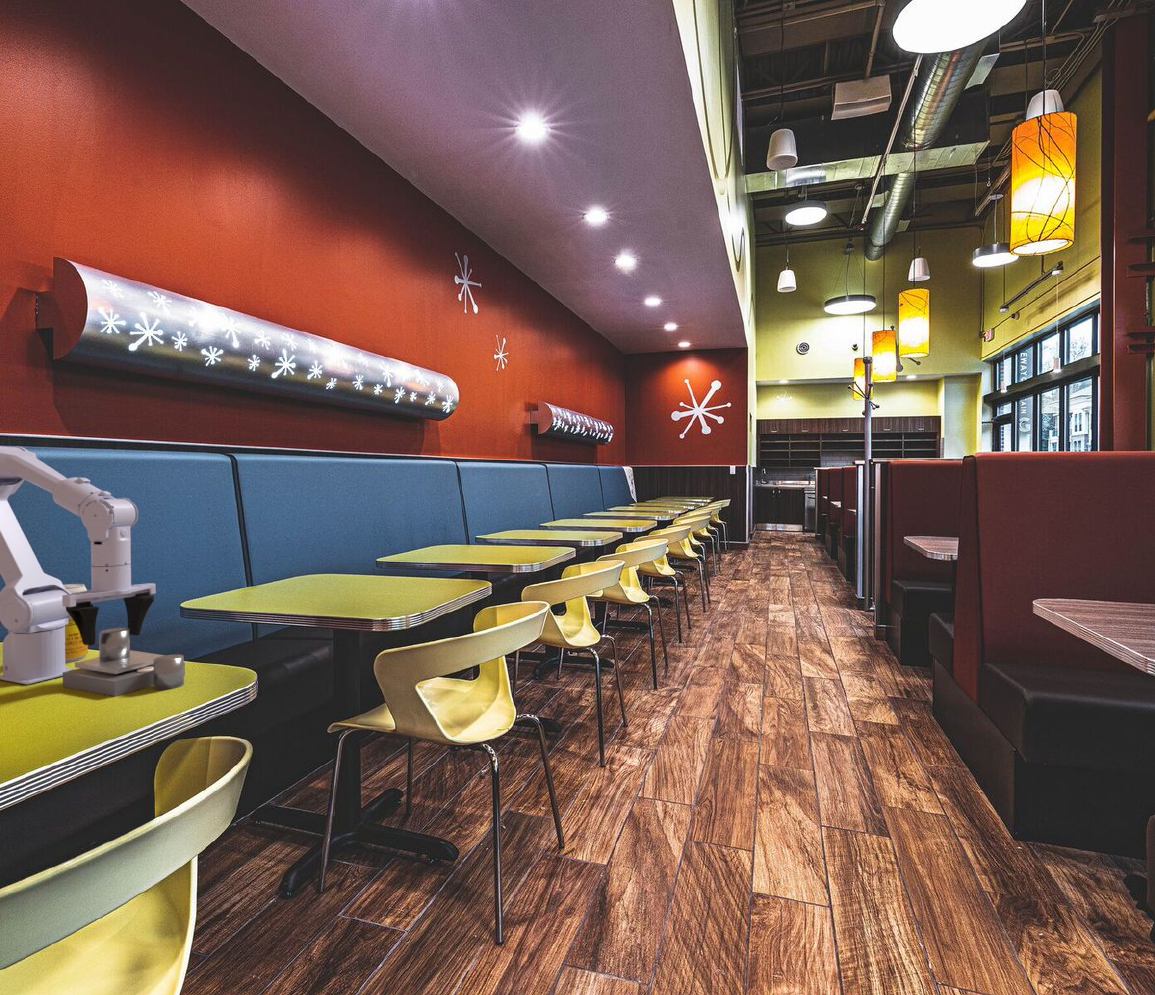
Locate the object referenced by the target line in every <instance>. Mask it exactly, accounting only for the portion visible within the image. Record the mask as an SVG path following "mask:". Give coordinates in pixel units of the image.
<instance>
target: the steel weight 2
mask: <svg viewBox="0 0 1155 995" xmlns="http://www.w3.org/2000/svg"><path fill="white" fill-rule="evenodd" d="M184 659H185V658H184V655H183V654H167V655H165V656H161V657H157V658H155V659H154V660H153V664H154V685H153V690H155V691H168V690H173V689H177V688H178V689H179V688H180V687H183V686H184V685H185V676H184V661H185V660H184Z"/></svg>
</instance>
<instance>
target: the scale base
mask: <svg viewBox="0 0 1155 995" xmlns="http://www.w3.org/2000/svg"><path fill="white" fill-rule="evenodd" d="M185 664H186V663H185V662H184V677H185V675H186V673H185V668H186V666H185ZM74 669H75V668H74ZM152 686H154V664H152V665H148V666H144V667H140V668H137V669H133V670H129V671H125V672H122V673H118V674H112V673H106V672H100V671H94V670H88V669H82V668H76V669H75V670H71V671H67V672H63V676H62V687H63V688H68V689H74V690H78V691H84V692H89V693H95V694H99V693H100V695H104V694H106V695H105V696H110V695H111V697H118V696H122V695H125V694H128V693H131V692H135V691H139V690H141V689H145V688H148V687H152Z"/></svg>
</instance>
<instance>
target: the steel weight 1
mask: <svg viewBox="0 0 1155 995" xmlns="http://www.w3.org/2000/svg"><path fill="white" fill-rule="evenodd" d="M98 636H99V637H98V646H99V647H98V650H99V651H98V652H99V653H98V654H99V656H98V657H99V660H100V661H103V662H107V661H117V660H122V659H126V658H128V657H130V650H131V647H130V646H131V642H130V640H131V639H130V637H131V635H130V629H129V628H128V627H114V628H108V629H104V630H100V631H99V632H98Z"/></svg>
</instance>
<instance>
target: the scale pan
mask: <svg viewBox="0 0 1155 995" xmlns="http://www.w3.org/2000/svg"><path fill="white" fill-rule="evenodd" d="M161 656H165V655H164V654H157V653H151V652H145V651H144V652H143V651H137V650H131V649H130V657H128V658H126V659H122V660H117V661H107V662H103V661H100V660H99V656H98V657H94V658H90V659H85V660H79V661H75V662H74V668H76V669H79V668H82V669H88V670H94V671H100V672H106V673H112V674H118V673H122V672H125V671H129V670H133V669H137V668H140V667H144V666H148V665H152V664H153V660H154V659H155V658H157V657H161Z"/></svg>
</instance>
